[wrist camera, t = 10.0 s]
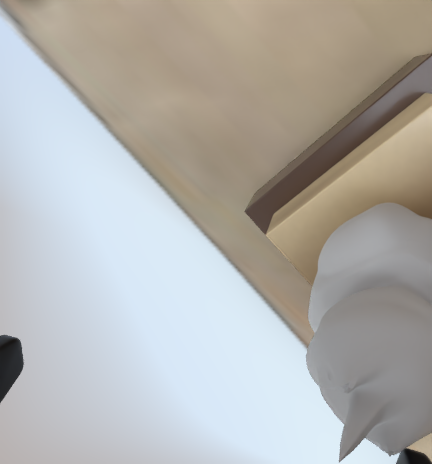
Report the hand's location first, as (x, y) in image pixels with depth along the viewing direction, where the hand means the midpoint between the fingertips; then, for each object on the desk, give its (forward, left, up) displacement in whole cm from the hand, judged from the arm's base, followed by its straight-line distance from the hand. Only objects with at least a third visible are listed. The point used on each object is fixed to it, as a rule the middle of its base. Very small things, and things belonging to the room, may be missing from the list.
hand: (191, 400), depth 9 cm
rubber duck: (+2, -6, -7) cm, 9 cm away
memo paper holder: (+2, -6, -13) cm, 14 cm away
